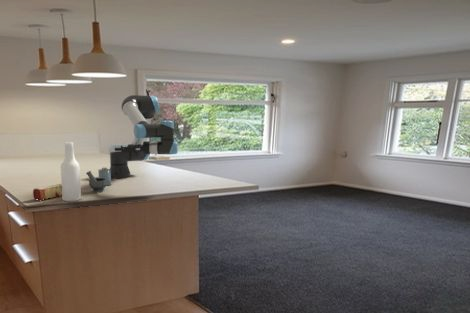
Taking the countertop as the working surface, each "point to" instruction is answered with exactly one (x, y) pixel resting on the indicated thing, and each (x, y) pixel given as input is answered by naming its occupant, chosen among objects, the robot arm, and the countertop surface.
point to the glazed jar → (105, 175)
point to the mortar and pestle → (97, 183)
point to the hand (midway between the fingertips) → (112, 147)
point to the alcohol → (70, 175)
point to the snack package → (47, 192)
